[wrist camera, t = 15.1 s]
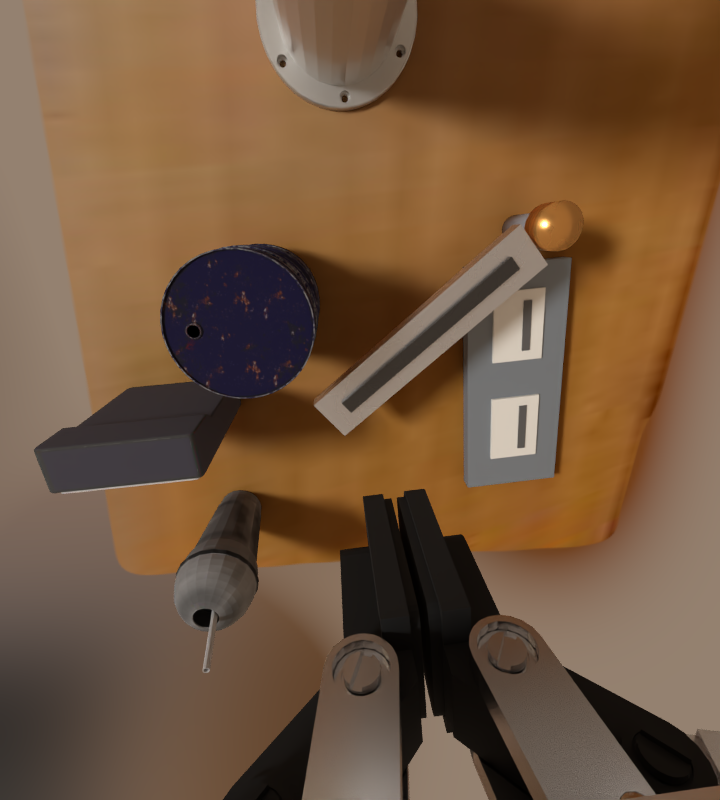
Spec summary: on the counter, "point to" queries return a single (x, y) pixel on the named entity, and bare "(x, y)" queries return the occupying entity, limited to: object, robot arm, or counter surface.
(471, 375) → the label board
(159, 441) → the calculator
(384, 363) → the swing arm
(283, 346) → the blue oil drum
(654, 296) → the counter surface
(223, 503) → the beverage cup
